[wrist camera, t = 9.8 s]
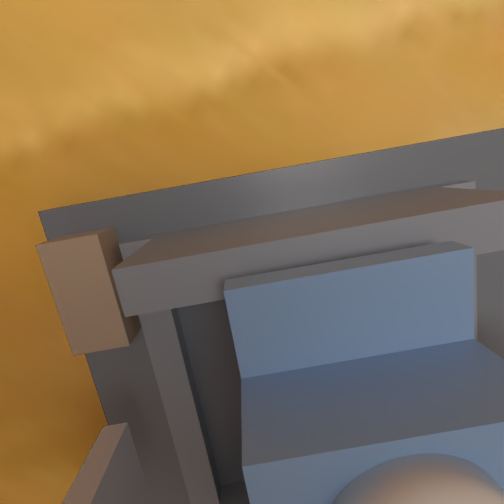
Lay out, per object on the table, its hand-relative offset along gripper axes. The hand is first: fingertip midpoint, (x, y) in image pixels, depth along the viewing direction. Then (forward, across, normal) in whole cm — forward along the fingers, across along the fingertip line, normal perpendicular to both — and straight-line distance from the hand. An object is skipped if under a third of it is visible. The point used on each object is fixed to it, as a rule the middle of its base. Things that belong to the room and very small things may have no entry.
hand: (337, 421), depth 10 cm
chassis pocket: (+4, 0, 0) cm, 4 cm away
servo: (+3, 0, 0) cm, 3 cm away
